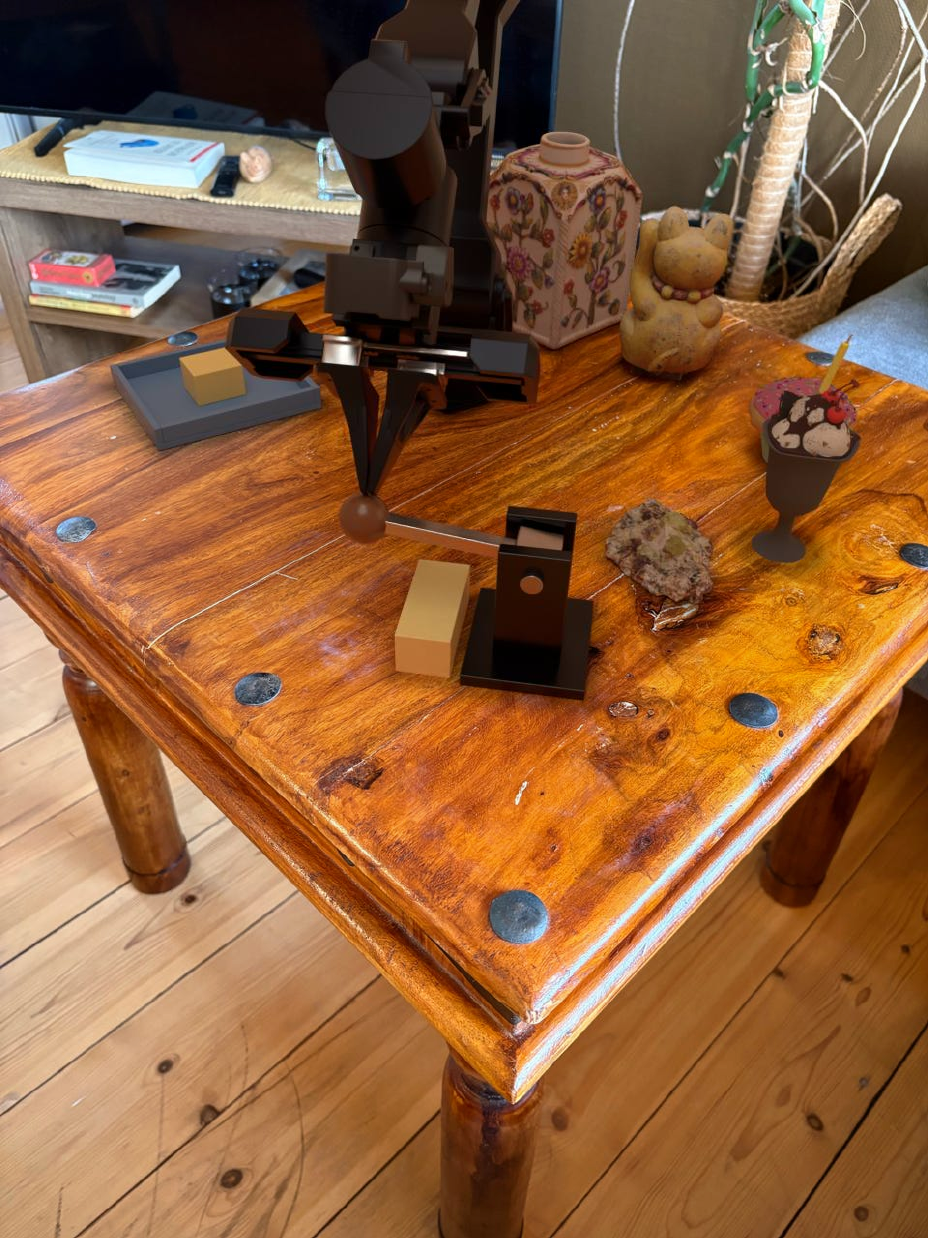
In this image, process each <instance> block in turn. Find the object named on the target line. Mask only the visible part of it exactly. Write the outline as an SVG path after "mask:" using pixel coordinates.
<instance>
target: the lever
mask: <svg viewBox="0 0 928 1238" xmlns="http://www.w3.org/2000/svg"><path fill="white" fill-rule="evenodd" d="M338 524H339V528H340V530H341V531H342V533H343V535H344V536H345V537H346V538H347V539H349V540H350V541H352V542H354V543H356V544H360V545H368V544H372V543H375V542H378V541H379V540H380V539H381V538H383V537H384V536H385V535H387V536H391V537H396V538H400V539H401V538H402V539H405V540H411V541H415V542H419V543H423V544H428V545H433V546H437V547H442V548H447V549H452V550H456V551H461V552H465V553H471V554H476V555H479V556H485V557H488V558H493V559H497V557H498V549H499V545H500V544H510V545H519V546H528V547H537V548H545V549H554V550H562V547H563V540H564V535H561V534H556V533H552V532H547V531H542V530H538V529H533V528H529V527H524V526H520V529H519V533H518V538H517V540H516V539H512V538H507V537H505V536H502V535H497V534H493V533H488V532H484V531H478V530H474V529H469V528H465V527H461V526H456V525H451V524H447V523H442V522H437V521H433V520H428V519H424V518H420V517H414V516H409V515H404V514H400V513H396V512H391V511H390V509H389V508H388V505H387V504H386V502H385V500H383V499H382V498H381V497H380V496H378V495H376V496H374V495H370V494H368V495H365V494H362V493H361V492H357V493H353V494H352V495H350V496H348V497H347V498H346V499H345V500H344V501H343V503H342V504H341V505H340V508H339V511H338Z"/></svg>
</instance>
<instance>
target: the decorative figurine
mask: <svg viewBox="0 0 928 1238" xmlns="http://www.w3.org/2000/svg"><path fill="white" fill-rule="evenodd" d="M638 230H639V241H638V248H637V250H636V251H637V252H636V254H635V260H634V264H633V267H632V270H631V276H630V295H629V296H630V300H631V301H630V302H631V304H632V307H629V308H627V311H626V312H625V314H624V316H623V318H622V320H621V321H619V323H620V324H619V340H620V341H619V342H620V354H621V356H622V358H623V360H624V361H626V362H628V363H629V364H631V367H630V370H629V373H630V374H638V375H639V374H640V375H645V376H651V377H656V378H661V379H667V380H672V381H675V382H676V381H677V382H679V381H681V380H682V377H683V375H685V374H686V375H687V374H688V373H691V372H696V371H697V370H700V369H703V368H704V367H705V366H706V365H707V364H708V363H709V362H710V360H711V358H712V357H713V355H714V353H715V352H716V350H717V349H718V348H719V346H720V343H721V341H722V336H723V335H722V334H723V330H722V325H721V322H720V320H721V319H722V317H723V315H724V306H723V303H722V301H721V300H720V299H719V298H718V296H717V295H716V294H715V293H714V292H715V288H714V285H715V284H716V283H717V282H718V281H719V280H720V279H721V277H722V276H723V274H724V272H725V270H726V267H727V264H728V249H729V246H730V244H731V243H730V242H731V239H732V236H733V231H734V221H733V218H732V217H731V216H730V215H728V214H726V213H718V214H717V215H715V216H713V217H712V218H711V219H710V220H709V221H708V222H707V224H705V226H704V228H700V227H697V226H690V223H689V220H688V215H687V213H686V211H685V210H683V209H682V207H679V206H677V205H673V206H670V207H669V208H667V209H666V210H665V212H664V213H663V214H662V216H661V218H660V220H659V219H657V218H646V219H644V220H642V221H641V223H639V226H638Z"/></svg>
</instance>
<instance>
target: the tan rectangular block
mask: <svg viewBox="0 0 928 1238" xmlns="http://www.w3.org/2000/svg"><path fill="white" fill-rule="evenodd" d="M470 580H471V565H470V564H465V563H457V562H449V561H441V560H431V559H423V558H422V559H420V558H418V560H417V563H416V567H415V571H414V573H413V577H412V580H411V582H410V586H409V589H408V592H407V595H406V598H405V602H404V605H403V608H402V611H401V613H400V618H399V621H398V624H397V625H396V629H395V633H394V657H395V671H396V672H398V673H407V674H416V675H422V676H423V675H424V676H432V677H439V678H447V679H451V676H452V672H453V667H454V664H455V660H456V656H457V651H458V647H459V643H460V640H461V635H462V630H463V628H464V622H465V618H466V614H467V610H468V606H469V603H470V586H471V585H470V583H471V582H470Z"/></svg>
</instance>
